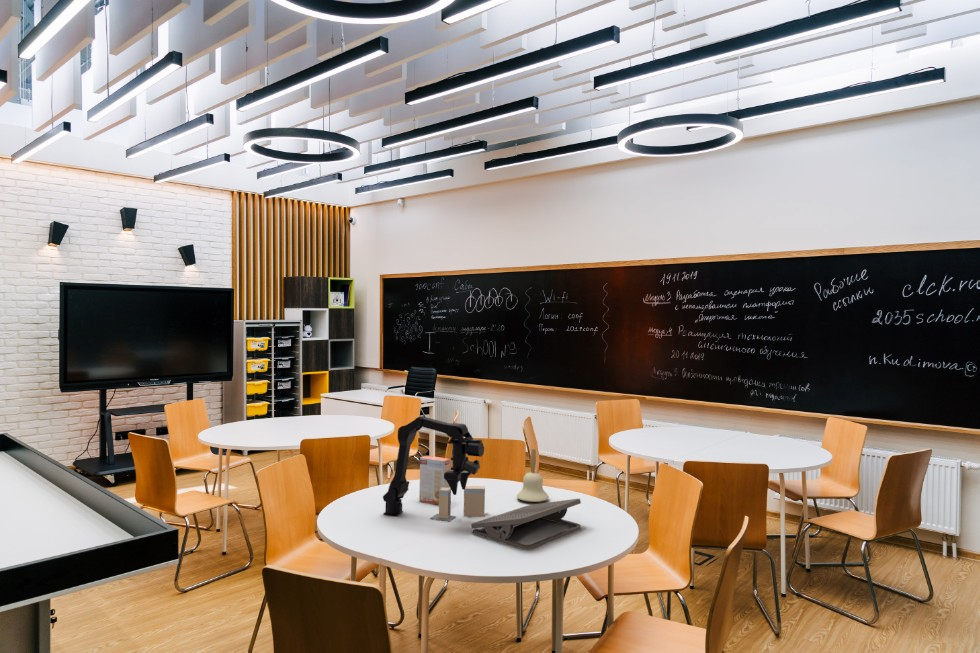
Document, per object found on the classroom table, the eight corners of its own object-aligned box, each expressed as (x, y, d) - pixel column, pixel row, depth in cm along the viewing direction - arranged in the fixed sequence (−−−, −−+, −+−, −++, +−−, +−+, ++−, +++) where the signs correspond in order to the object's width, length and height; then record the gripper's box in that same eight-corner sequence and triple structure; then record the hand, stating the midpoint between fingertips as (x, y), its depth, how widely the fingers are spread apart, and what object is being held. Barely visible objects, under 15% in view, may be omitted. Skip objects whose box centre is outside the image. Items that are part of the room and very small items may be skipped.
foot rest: (528, 513, 282) (529, 485, 282) (585, 529, 262) (585, 498, 262) (467, 534, 253) (468, 502, 253) (525, 553, 233) (526, 519, 233)
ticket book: (463, 516, 275) (464, 488, 275) (463, 513, 280) (464, 485, 279) (484, 516, 275) (484, 488, 275) (484, 513, 280) (484, 486, 280)
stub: (438, 518, 270) (439, 490, 270) (441, 514, 275) (441, 487, 275) (447, 518, 270) (448, 490, 270) (450, 515, 274) (451, 488, 274)
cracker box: (450, 503, 294) (451, 458, 294) (442, 506, 289) (443, 460, 289) (426, 498, 302) (427, 454, 302) (418, 501, 297) (419, 456, 296)
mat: (430, 519, 270) (430, 518, 270) (437, 514, 277) (437, 513, 277) (449, 521, 267) (449, 520, 267) (455, 517, 274) (455, 516, 274)
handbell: (521, 505, 292) (522, 451, 292) (512, 496, 307) (513, 445, 307) (553, 503, 296) (554, 450, 296) (542, 495, 311) (543, 444, 311)
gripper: (468, 460, 252) (468, 499, 252) (485, 451, 270) (485, 488, 270) (443, 458, 256) (443, 497, 256) (461, 450, 274) (461, 486, 274)
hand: (459, 492), depth 264 cm, fingers open, 9 cm apart
